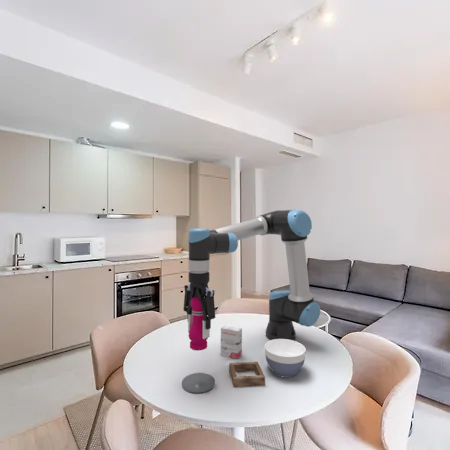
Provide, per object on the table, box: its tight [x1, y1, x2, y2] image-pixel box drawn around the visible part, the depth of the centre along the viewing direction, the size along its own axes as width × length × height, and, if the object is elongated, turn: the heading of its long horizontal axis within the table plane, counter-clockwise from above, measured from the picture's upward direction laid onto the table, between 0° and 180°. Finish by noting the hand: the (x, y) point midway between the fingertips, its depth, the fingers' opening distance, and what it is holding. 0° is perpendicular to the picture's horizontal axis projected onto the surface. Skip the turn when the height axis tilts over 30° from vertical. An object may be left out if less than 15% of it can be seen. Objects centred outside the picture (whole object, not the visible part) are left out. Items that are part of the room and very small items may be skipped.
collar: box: [228, 361, 266, 388], centre depth 109 cm, size 12×12×3 cm
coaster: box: [181, 372, 216, 395], centre depth 105 cm, size 12×12×1 cm
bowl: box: [264, 339, 307, 378], centre depth 114 cm, size 16×16×10 cm
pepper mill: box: [188, 297, 209, 351], centre depth 104 cm, size 7×7×20 cm
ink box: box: [220, 325, 243, 360], centre depth 127 cm, size 9×5×12 cm, turn 65°
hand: (198, 334), depth 104 cm, fingers closed on pepper mill, 7 cm apart
